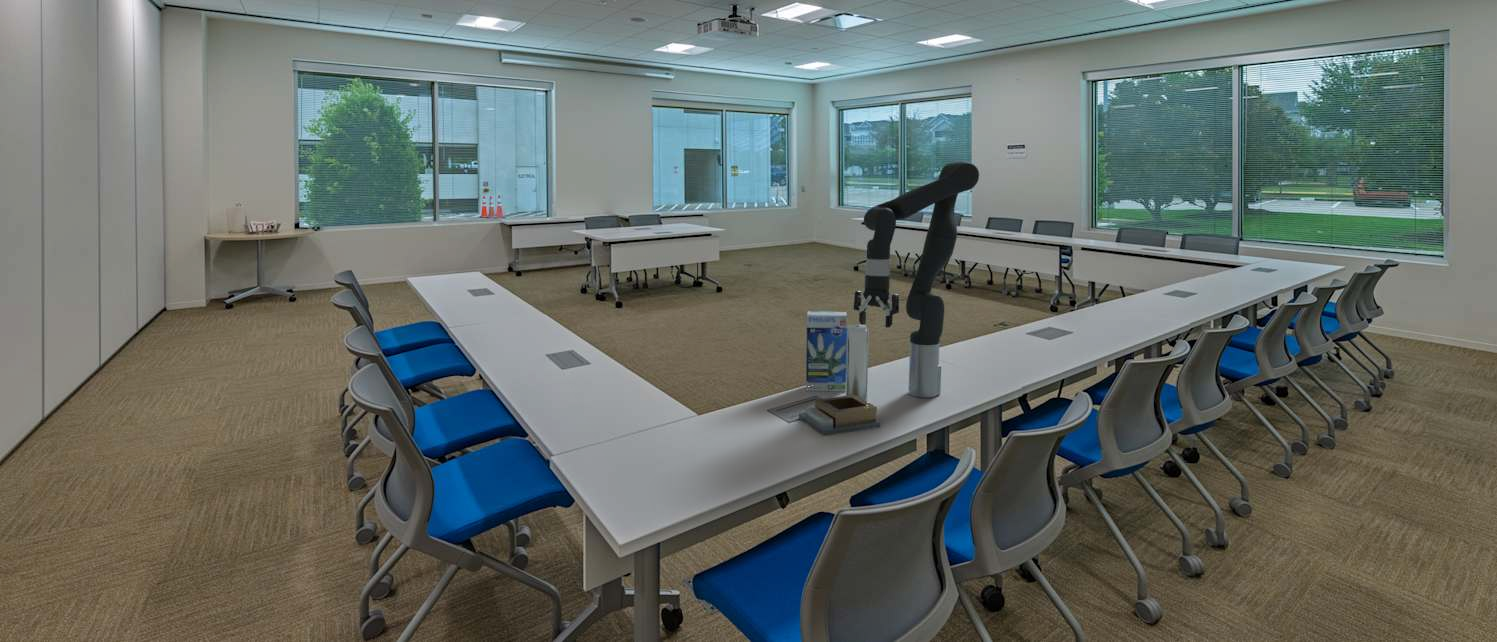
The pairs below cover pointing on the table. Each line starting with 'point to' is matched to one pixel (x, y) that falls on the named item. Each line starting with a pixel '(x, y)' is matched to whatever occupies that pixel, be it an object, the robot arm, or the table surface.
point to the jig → (840, 415)
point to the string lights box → (826, 351)
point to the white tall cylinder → (857, 361)
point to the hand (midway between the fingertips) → (875, 325)
